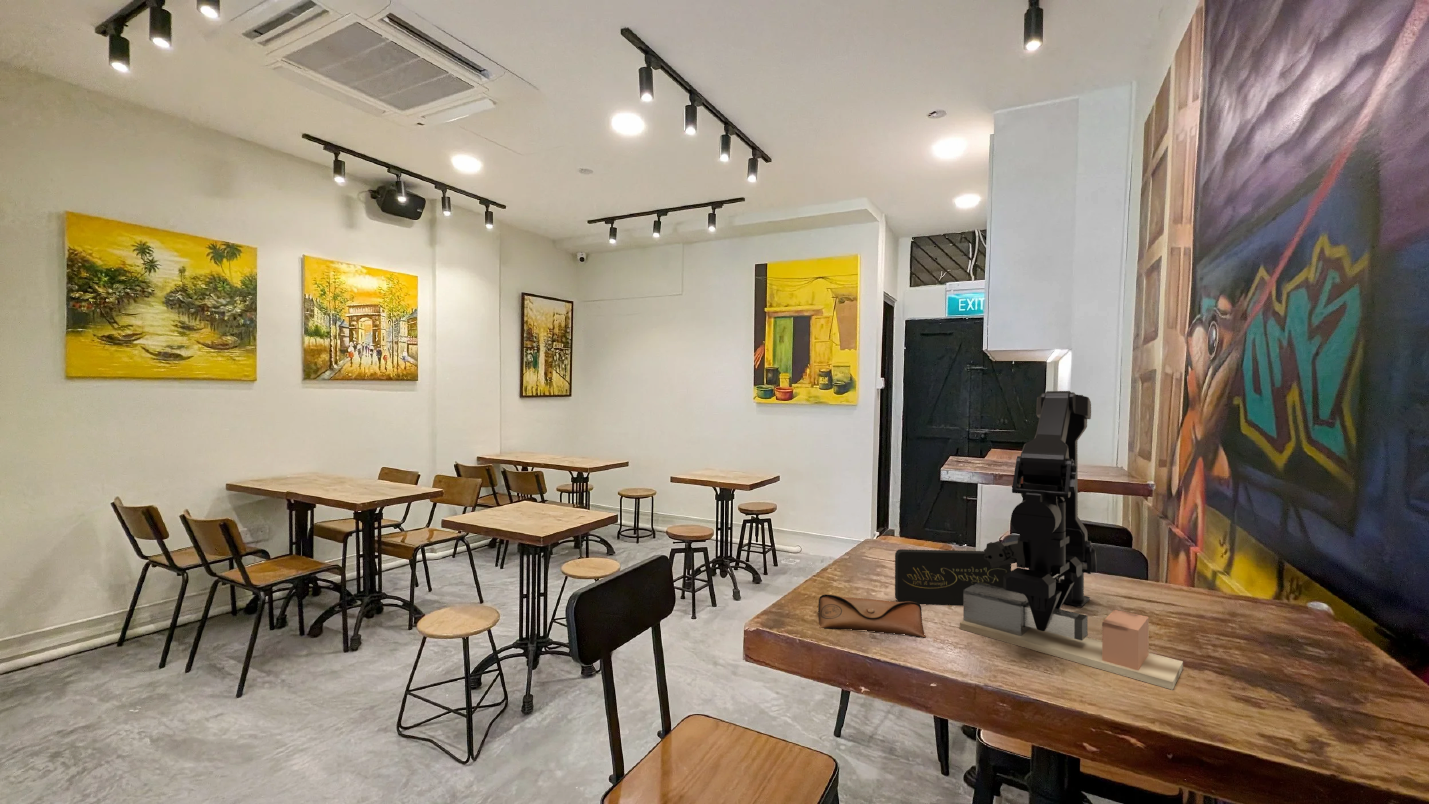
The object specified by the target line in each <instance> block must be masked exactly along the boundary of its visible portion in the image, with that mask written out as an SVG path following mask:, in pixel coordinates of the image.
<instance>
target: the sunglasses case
mask: <svg viewBox="0 0 1429 804" xmlns="http://www.w3.org/2000/svg"><path fill="white" fill-rule="evenodd" d="M817 610H818V612H819V613H818V612H817V613H818V625H820V626H819V627H818V628H819V629H821V628H824V630H841V629H852V630H851V631H853V630H867V631H875V632H884V633H883V634H885V633H895V634H905V635H911V636H910V637H912V636H916V637H915V638H920V637H923V638H925V639H926V638H927V635H926V634H925V630H924V625H923V618H922V616H923V615H922V612H923V611H922V610H923V609H922V606H921V605H920V604H918V603H915V602H898V601H892V600H883V599H874V598H873V599H872V598H862V597H861V598H860V597H859V598H858V597H846V596H840V595H834V594H826V593H825V594H822V595H820V597H819V598H818V609H817ZM875 632H874V633H875ZM895 634H894V635H895ZM924 634H925V635H924ZM923 638H922V639H923Z"/></svg>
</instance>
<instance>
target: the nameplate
mask: <svg viewBox="0 0 1429 804" xmlns="http://www.w3.org/2000/svg"><path fill="white" fill-rule="evenodd" d="M984 555H985V552H984V550H954V549H953V550H952V549H951V550H950V549H947V550H946V549H908V548H906V549H901V548H900V549H898V550H896V552H894V597H895V600H896V602H915V603H918V604H926V605H925V606H928V605H929V606H960V607H963V604H964V589H966V588H968V587H970V586H972V585H974V584H976V583H982V584H987V585H991V586H996V587H1000V588H1003V576H1005V575H1006V574H1007V573H1009V572H1010V571H1012V564H1006V565H1000V566H999V567H995V568H992V567H991V565H990V562H989V561H988V560H986V559H984Z"/></svg>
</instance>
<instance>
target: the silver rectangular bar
mask: <svg viewBox="0 0 1429 804" xmlns="http://www.w3.org/2000/svg"><path fill="white" fill-rule="evenodd" d="M1023 625H1024V626H1028V627H1031V628H1035V629H1037V628H1036V625H1035V621H1034V618H1033V615H1032V612H1031V609H1030V605H1029V603H1026V604H1025V605H1023ZM1045 631H1047V632H1051V633H1054V634H1058V635H1062V636H1066V637H1070V638H1074V639H1077V640H1081V641H1082V640H1083V639H1084V638H1085V637H1088V615H1087V614H1081V613H1078V612H1075V611H1074V612H1073V611H1070V610H1064V609H1061V608H1060V609H1056V608H1055V609H1054V611H1053V614H1052V616H1051V618H1050V621H1049V623H1048V625H1047V628H1046V630H1045Z"/></svg>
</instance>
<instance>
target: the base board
mask: <svg viewBox="0 0 1429 804" xmlns="http://www.w3.org/2000/svg"><path fill="white" fill-rule="evenodd" d="M959 629H960V630H963V631H966V632H970V633H973V634H975V635H980V636H983V637H987V638H991V639H994V640H998V641H1000V642H1004V643H1007V644H1012V645H1015V646H1019V647H1022V648H1025V649H1029V650H1032V651H1036V652H1040V653H1042V654H1046V655H1050V656H1054V657H1057V658H1061V659H1064V660H1068V661H1070V662H1074V663H1078V664H1081V665H1085V666H1088V667H1092V668H1095V669H1099V670H1103V671H1106V672H1109V673H1112V674H1115V675H1116V674H1117V675H1119V676H1122V677H1123V676H1124V677H1127V678H1131V679H1134V680H1138V681H1141V682H1144V683H1148V684H1150V685H1154V686H1158V687H1161V688H1165V689H1168V690H1172V691H1173V690H1174V688H1175V686H1176V684H1177V682H1178V680H1179V679H1180V676H1181V673H1182V672H1183V669H1184V661H1183V660H1179V659H1176V658H1175V659H1174V658H1171V657H1167V656H1163V655H1159V654H1155V653H1152V652H1149V655H1148V657H1147V658H1146V660H1145V661H1144V663H1143V664H1142V666H1141V667H1140V669H1139V670H1135V669H1131V668H1128V667H1124V666H1120V665H1117V664H1113V663H1110V662H1106V661H1102V639H1097V638H1093V637H1088V636H1086V637H1085V638H1084V639H1083V640H1082V641H1081V640H1077V639H1074V638H1070V637H1066V636H1062V635H1058V634H1054V633H1051V632H1047V631H1040V630H1038V629H1035V628H1031V629H1030V630H1028V631H1027V632H1026V633H1024V634H1023V635H1022V636H1018V635H1014V634H1011V633H1007V632H1003V631H1000V630H996V629H992V628H989V627H985V626H981V625H978V624H974V623H970V622H967V621H963V620H962V621H960V622H959Z"/></svg>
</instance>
